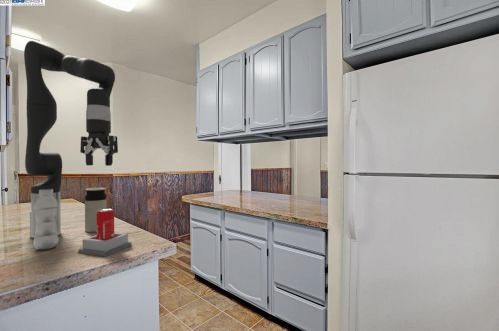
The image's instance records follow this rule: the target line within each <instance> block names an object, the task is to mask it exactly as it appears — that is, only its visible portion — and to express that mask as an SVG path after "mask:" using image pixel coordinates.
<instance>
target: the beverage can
mask: <svg viewBox="0 0 499 331" xmlns="http://www.w3.org/2000/svg"><path fill="white" fill-rule="evenodd" d="M97 211H98V212H97V232H96V235H97V240H109V239H111V238H114V233H115V210H114V208H106V209H100V210H97Z"/></svg>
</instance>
